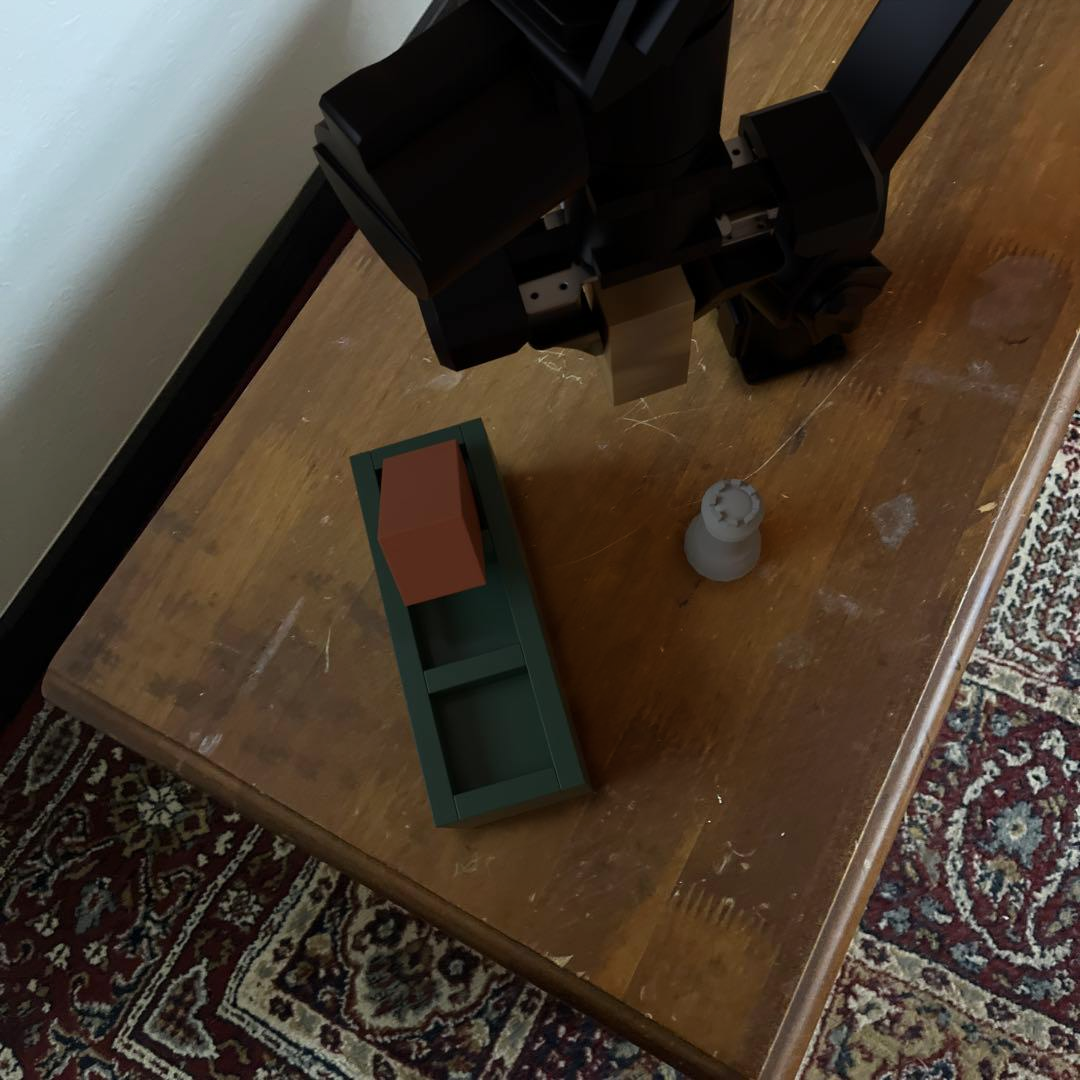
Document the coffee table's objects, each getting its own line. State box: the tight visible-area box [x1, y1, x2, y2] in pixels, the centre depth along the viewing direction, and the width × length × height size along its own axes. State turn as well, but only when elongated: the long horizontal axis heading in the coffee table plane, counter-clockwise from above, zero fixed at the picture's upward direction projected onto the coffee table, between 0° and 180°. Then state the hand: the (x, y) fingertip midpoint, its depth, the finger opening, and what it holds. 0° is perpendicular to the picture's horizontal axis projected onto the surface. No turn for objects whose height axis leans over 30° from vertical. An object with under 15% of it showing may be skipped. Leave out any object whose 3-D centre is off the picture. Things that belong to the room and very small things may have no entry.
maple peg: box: [583, 265, 695, 407], centre depth 46 cm, size 4×4×8 cm
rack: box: [348, 417, 594, 830], centre depth 52 cm, size 7×20×8 cm, turn 16°
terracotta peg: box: [378, 439, 486, 606], centre depth 47 cm, size 4×4×8 cm
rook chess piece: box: [683, 478, 766, 583], centre depth 53 cm, size 4×4×8 cm
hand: (637, 333), depth 47 cm, fingers closed on maple peg, 4 cm apart
